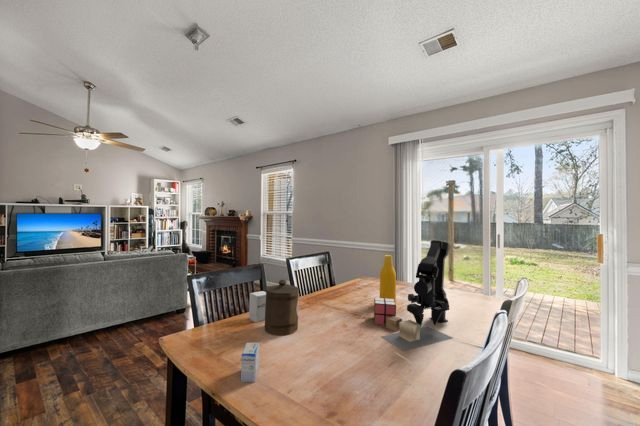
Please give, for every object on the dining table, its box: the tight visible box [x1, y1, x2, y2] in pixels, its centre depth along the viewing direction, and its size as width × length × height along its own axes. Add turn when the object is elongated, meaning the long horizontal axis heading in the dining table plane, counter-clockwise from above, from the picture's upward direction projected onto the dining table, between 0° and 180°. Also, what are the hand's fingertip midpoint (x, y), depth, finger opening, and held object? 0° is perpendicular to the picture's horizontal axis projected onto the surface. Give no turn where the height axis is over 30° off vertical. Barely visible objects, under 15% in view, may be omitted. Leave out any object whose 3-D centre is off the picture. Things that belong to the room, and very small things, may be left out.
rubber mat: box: [380, 325, 454, 352], centre depth 119 cm, size 28×14×1 cm, turn 117°
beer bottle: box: [379, 254, 397, 305], centre depth 163 cm, size 9×9×29 cm
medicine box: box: [240, 342, 260, 383], centre depth 89 cm, size 8×4×9 cm, turn 5°
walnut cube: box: [385, 315, 403, 332], centre depth 129 cm, size 5×5×5 cm
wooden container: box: [264, 279, 299, 336], centre depth 127 cm, size 15×15×22 cm
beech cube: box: [399, 319, 422, 342], centre depth 119 cm, size 6×6×6 cm
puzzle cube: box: [373, 297, 397, 325], centre depth 138 cm, size 10×10×10 cm
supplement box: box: [248, 290, 266, 323], centre depth 138 cm, size 7×7×13 cm
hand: (426, 326), depth 123 cm, fingers open, 9 cm apart
